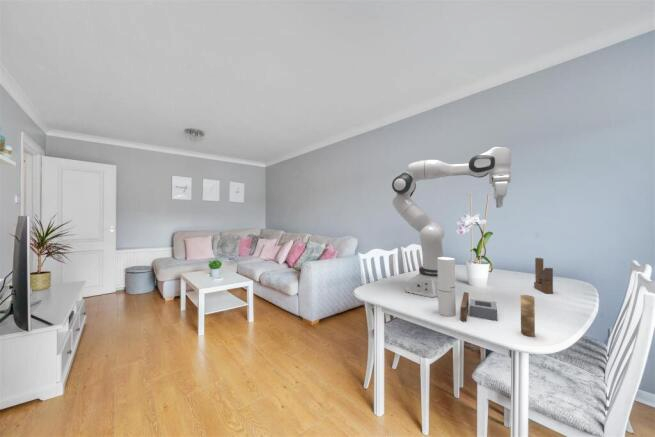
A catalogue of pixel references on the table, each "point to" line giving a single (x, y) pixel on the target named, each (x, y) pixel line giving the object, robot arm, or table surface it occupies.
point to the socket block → (483, 309)
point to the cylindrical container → (446, 286)
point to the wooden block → (543, 277)
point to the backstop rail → (464, 306)
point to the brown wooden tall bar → (527, 315)
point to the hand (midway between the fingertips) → (499, 207)
